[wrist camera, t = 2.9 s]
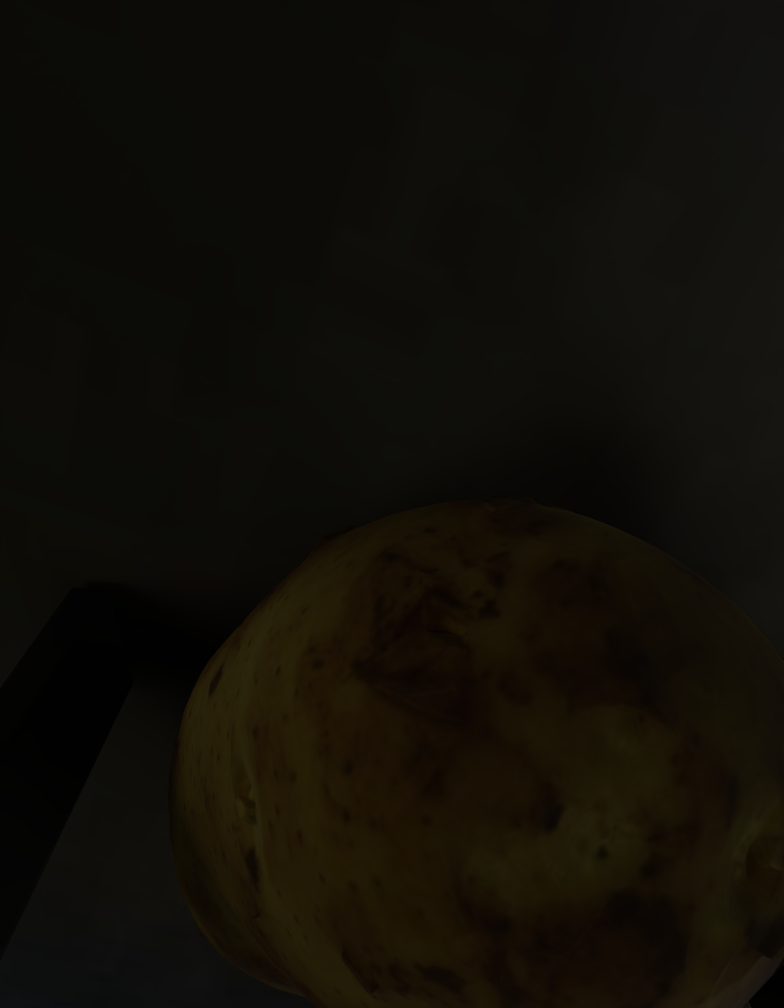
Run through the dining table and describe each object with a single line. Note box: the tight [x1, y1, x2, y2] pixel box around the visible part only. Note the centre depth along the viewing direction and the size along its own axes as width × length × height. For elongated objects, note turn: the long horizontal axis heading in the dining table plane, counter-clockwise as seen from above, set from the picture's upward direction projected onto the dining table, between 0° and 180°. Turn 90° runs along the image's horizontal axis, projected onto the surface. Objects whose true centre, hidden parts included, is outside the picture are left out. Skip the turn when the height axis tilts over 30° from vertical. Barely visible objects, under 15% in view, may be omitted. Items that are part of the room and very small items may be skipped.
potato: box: [168, 495, 784, 1008], centre depth 10 cm, size 8×13×8 cm, turn 132°
